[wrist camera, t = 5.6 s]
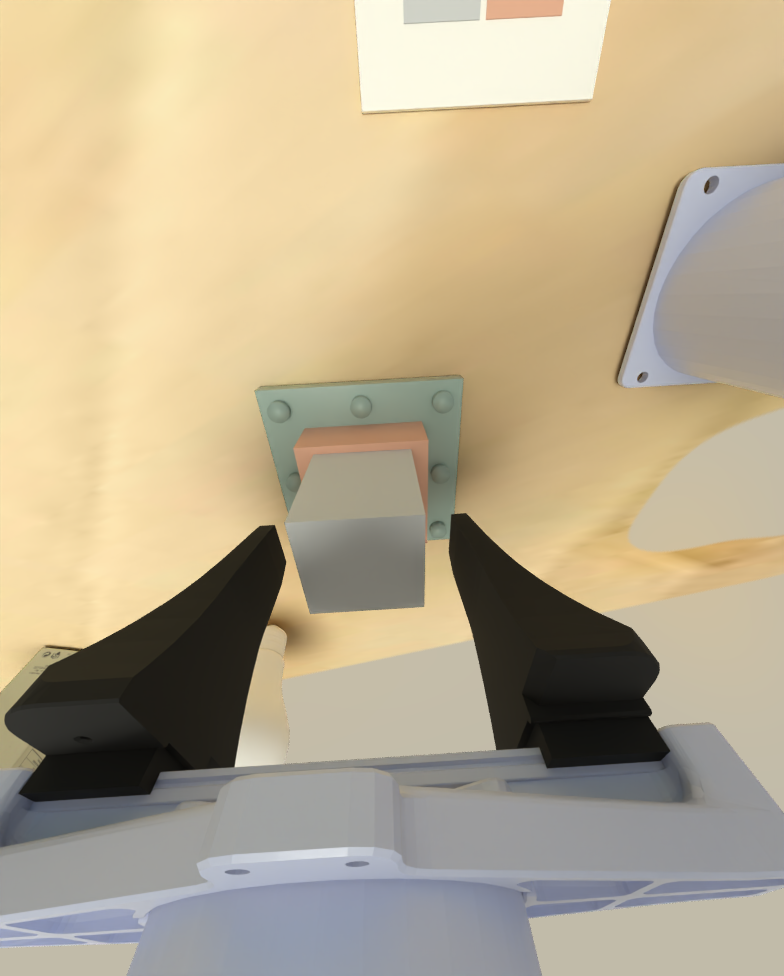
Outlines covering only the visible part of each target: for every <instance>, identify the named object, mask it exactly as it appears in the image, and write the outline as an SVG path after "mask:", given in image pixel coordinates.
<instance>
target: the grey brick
mask: <svg viewBox="0 0 784 976" xmlns="http://www.w3.org/2000/svg"><path fill="white" fill-rule="evenodd" d="M285 527H286V531H287V534H288V538H289V541H290V545H291V548H292V552H293V555H294V559H295V562H296V566H297V569H298V573H299V576H300V580H301V583H302V587H303V590H304V594H305V597H306V601H307V605H308V608H309V612H310V614H316V613H333V612H349V611H365V610H382V609H398V608H414V607H424V588H425V510H424V506H423V501H422V496H421V492H420V487H419V483H418V478H417V474H416V469H415V465H414V460H413V455H412V451H411V449H401V450H383V451H366V452H348V453H331V454H313V456H312V459H311V461H310V463H309V466H308V468H307V471H306V473H305V475H304V478H303V480H302V482H301V485H300V487H299V489H298V492H297V494H296V497H295V499H294V501H293V504H292V506H291V508H290V511H289V513H288V516H287V518H286V520H285Z"/></svg>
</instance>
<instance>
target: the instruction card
mask: <svg viewBox="0 0 784 976" xmlns="http://www.w3.org/2000/svg"><path fill="white" fill-rule="evenodd" d="M610 2H611V0H355V15H356V30H357V45H358V60H359V75H360V90H361V105H362V114H368V113H386V112H404V111H423V110H441V109H460V108H478V107H497V106H515V105H534V104H552V103H571V102H589V101H590V100H592V97H593V91H594V86H595V81H596V76H597V70H598V65H599V60H600V55H601V49H602V44H603V39H604V34H605V28H606V23H607V18H608V12H609V7H610Z"/></svg>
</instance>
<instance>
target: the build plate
mask: <svg viewBox="0 0 784 976" xmlns="http://www.w3.org/2000/svg"><path fill="white" fill-rule="evenodd" d="M462 391H463V378H462V377H461V376H460V375H452V376H435V377H418V378H401V379H385V380H368V381H351V382H334V383H317V384H300V385H284V386H267V387H259V388H258V389H257V390H255V394H256V398H257V401H258V405H259V409H260V412H261V416H262V419H263V423H264V427H265V430H266V434H267V438H268V441H269V445H270V449H271V452H272V456H273V459H274V463H275V467H276V470H277V474H278V478H279V481H280V485H281V488H282V492H283V496H284V499H285V503H286V507H287V510H288V513H289V511H290V508H291V506H292V504H293V501H294V499H295V497H296V494H297V492H298V489H299V487H300V485H301V479H300V475H299V471H298V467H297V462H296V458H295V454H294V449H293V448H294V446H295V444H296V443H297V441H298V439H299V437H300V436H301V434H302V432H303V430H304V429H305V428H318V427H335V426H351V425H368V424H384V423H401V422H417V421H422V423H423V426H424V429H425V432H426V435H427V437H428V516H427V540H439V539H450V524H451V514H454V509H455V495H456V480H457V465H458V450H459V435H460V421H461V406H462Z"/></svg>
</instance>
